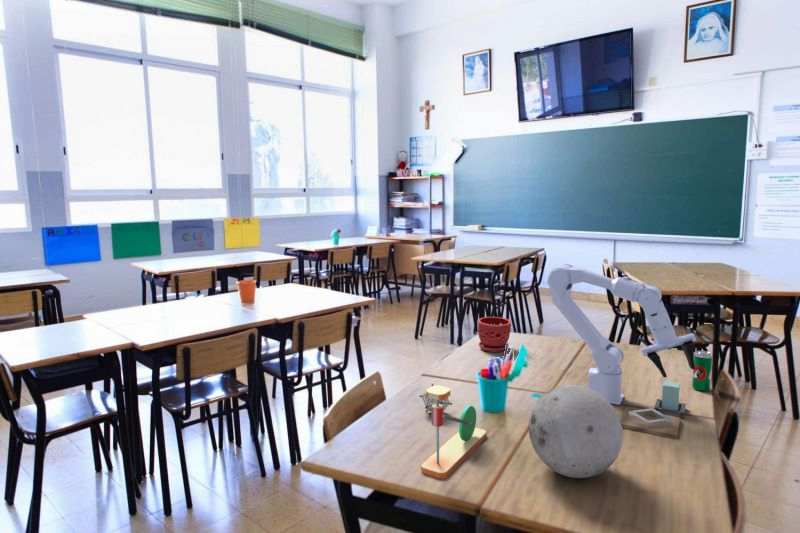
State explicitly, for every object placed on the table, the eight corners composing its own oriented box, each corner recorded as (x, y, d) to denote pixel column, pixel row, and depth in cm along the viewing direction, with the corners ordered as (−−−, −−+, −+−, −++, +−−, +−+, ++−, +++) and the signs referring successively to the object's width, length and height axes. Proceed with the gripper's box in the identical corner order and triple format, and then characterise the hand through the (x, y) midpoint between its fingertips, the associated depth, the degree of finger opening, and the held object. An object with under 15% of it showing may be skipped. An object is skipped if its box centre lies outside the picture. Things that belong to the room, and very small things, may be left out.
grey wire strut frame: (442, 424, 153) (463, 400, 150) (424, 423, 147) (446, 398, 144) (426, 401, 159) (446, 377, 156) (408, 400, 153) (428, 375, 150)
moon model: (639, 477, 116) (644, 391, 113) (580, 508, 106) (584, 414, 103) (567, 442, 133) (569, 366, 130) (509, 465, 122) (510, 384, 119)
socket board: (618, 426, 141) (618, 418, 141) (625, 410, 151) (625, 402, 151) (676, 438, 134) (677, 429, 134) (680, 421, 144) (680, 412, 144)
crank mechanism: (444, 480, 117) (443, 398, 114) (418, 472, 120) (417, 392, 118) (488, 435, 138) (488, 365, 135) (465, 429, 141) (465, 361, 139)
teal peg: (661, 412, 150) (662, 385, 149) (662, 407, 153) (664, 381, 152) (677, 415, 148) (678, 388, 147) (678, 409, 151) (679, 383, 150)
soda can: (712, 392, 163) (715, 355, 162) (694, 391, 164) (697, 354, 163) (706, 386, 168) (709, 350, 167) (689, 385, 169) (691, 349, 168)
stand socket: (654, 413, 149) (654, 408, 149) (656, 403, 156) (657, 398, 155) (683, 418, 145) (684, 413, 145) (685, 408, 152) (685, 403, 152)
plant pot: (475, 352, 207) (475, 323, 206) (479, 343, 220) (479, 315, 218) (509, 355, 204) (509, 325, 202) (511, 345, 216) (511, 317, 215)
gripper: (638, 336, 147) (656, 383, 146) (691, 320, 144) (710, 367, 143) (633, 333, 154) (650, 377, 153) (683, 317, 151) (701, 362, 150)
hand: (678, 372), depth 148 cm, fingers open, 7 cm apart
